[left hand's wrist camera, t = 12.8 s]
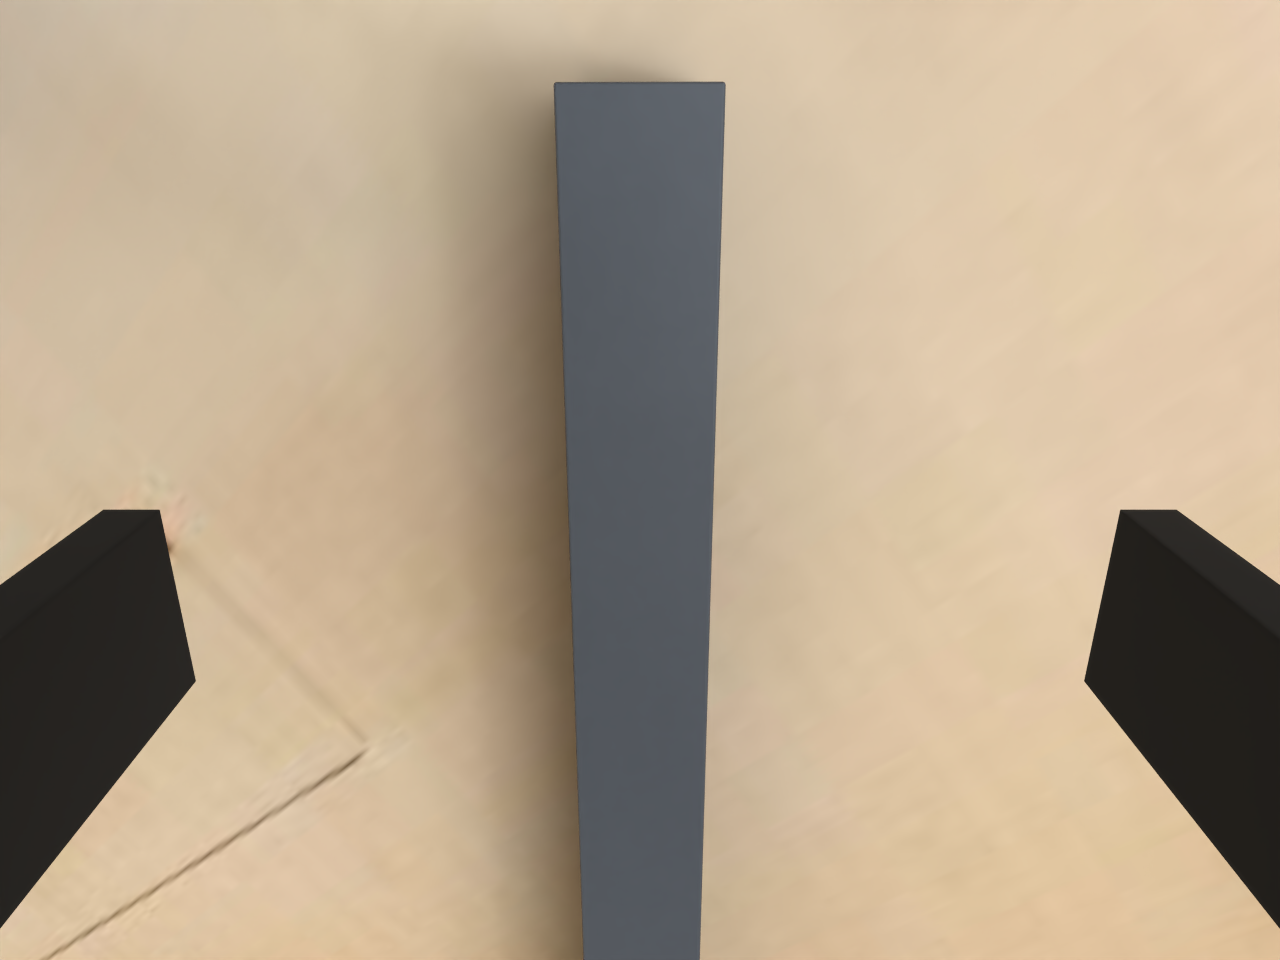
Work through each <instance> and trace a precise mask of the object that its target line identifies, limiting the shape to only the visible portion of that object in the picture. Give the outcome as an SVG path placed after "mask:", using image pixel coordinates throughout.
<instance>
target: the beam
mask: <svg viewBox="0 0 1280 960" xmlns="http://www.w3.org/2000/svg"><path fill="white" fill-rule="evenodd" d="M725 86H726V85H725V83H724V82H556V83H554V106H555V136H556V165H557V194H558V224H559V253H560V282H561V312H562V341H563V371H564V400H565V429H566V459H567V488H568V517H569V547H570V576H571V605H572V635H573V664H574V693H575V723H576V752H577V782H578V811H579V840H580V870H581V899H582V928H583V958H584V960H700V931H701V897H702V863H703V829H704V795H705V762H706V728H707V694H708V660H709V627H710V593H711V559H712V525H713V492H714V458H715V424H716V390H717V356H718V323H719V289H720V255H721V221H722V188H723V154H724V120H725Z"/></svg>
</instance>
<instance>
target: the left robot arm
mask: <svg viewBox="0 0 1280 960" xmlns="http://www.w3.org/2000/svg"><path fill="white" fill-rule="evenodd" d="M195 681H196V680H195V675H194V671H193V666H192V661H191V656H190V652H189V647H188V642H187V637H186V633H185V628H184V623H183V618H182V614H181V609H180V604H179V599H178V595H177V590H176V585H175V581H174V576H173V571H172V566H171V562H170V557H169V552H168V547H167V543H166V538H165V533H164V528H163V524H162V519H161V514H160V510H103V511H101V512H100V513H98V514H97V515H96V516H94V517H93V518H92V519H90V520H89V521H87V522H86V523H85V524H83V525H82V526H81V527H79V528H78V529H76V530H75V531H74V532H72V533H71V534H70V535H68V536H67V537H65V538H64V539H63V540H61V541H60V542H59V543H57V544H56V545H54V546H53V547H52V548H50V549H49V550H48V551H46V552H45V553H43V554H42V555H41V556H39V557H38V558H37V559H35V560H34V561H32V562H31V563H30V564H28V565H27V566H26V567H24V568H23V569H21V570H20V571H19V572H17V573H16V574H15V575H13V576H12V577H11V578H9V579H8V580H6V581H5V582H4V583H2V584H1V585H0V928H1V927H2V926H3V924H4V923H5V922H6V920H7V919H8V918H9V917H10V915H11V914H12V913H13V912H14V910H15V909H16V908H17V907H18V905H19V904H20V903H21V902H22V900H23V899H24V898H25V896H26V895H27V894H28V893H29V891H30V890H31V889H32V888H33V886H34V885H35V884H36V883H37V881H38V880H39V879H40V877H41V876H42V875H43V874H44V872H45V871H46V870H47V869H48V867H49V866H50V865H51V864H52V862H53V861H54V860H55V859H56V857H57V856H58V855H59V853H60V852H61V851H62V850H63V848H64V847H65V846H66V845H67V843H68V842H69V841H70V840H71V838H72V837H73V836H74V834H75V833H76V832H77V831H78V829H79V828H80V827H81V826H82V824H83V823H84V822H85V821H86V819H87V818H88V817H89V815H90V814H91V813H92V812H93V810H94V809H95V808H96V807H97V805H98V804H99V803H100V802H101V800H102V799H103V798H104V797H105V795H106V794H107V793H108V791H109V790H110V789H111V788H112V786H113V785H114V784H115V783H116V781H117V780H118V779H119V778H120V776H121V775H122V774H123V772H124V771H125V770H126V769H127V767H128V766H129V765H130V764H131V762H132V761H133V760H134V759H135V757H136V756H137V755H138V754H139V752H140V751H141V750H142V748H143V747H144V746H145V745H146V743H147V742H148V741H149V740H150V738H151V737H152V736H153V735H154V733H155V732H156V731H157V729H158V728H159V727H160V726H161V724H162V723H163V722H164V721H165V719H166V718H167V717H168V716H169V714H170V713H171V712H172V710H173V709H174V708H175V707H176V705H177V704H178V703H179V702H180V700H181V699H182V698H183V697H184V695H185V694H186V693H187V692H188V690H189V689H190V688H191V686H192V685H193V684H194V683H195ZM1084 681H1085V683H1086V684H1087V685H1088V686H1089V688H1090V689H1091V690H1092V692H1093V693H1094V694H1095V695H1096V697H1097V698H1098V699H1099V700H1100V702H1101V703H1102V704H1103V705H1104V707H1105V708H1106V709H1107V710H1108V712H1109V713H1110V714H1111V716H1112V717H1113V718H1114V719H1115V721H1116V722H1117V723H1118V724H1119V726H1120V727H1121V728H1122V729H1123V731H1124V732H1125V733H1126V735H1127V736H1128V737H1129V738H1130V740H1131V741H1132V742H1133V743H1134V745H1135V746H1136V747H1137V748H1138V750H1139V751H1140V752H1141V754H1142V755H1143V756H1144V757H1145V759H1146V760H1147V761H1148V762H1149V764H1150V765H1151V766H1152V767H1153V769H1154V770H1155V771H1156V772H1157V774H1158V775H1159V776H1160V778H1161V779H1162V780H1163V781H1164V783H1165V784H1166V785H1167V786H1168V788H1169V789H1170V790H1171V791H1172V793H1173V794H1174V795H1175V797H1176V798H1177V799H1178V800H1179V802H1180V803H1181V804H1182V805H1183V807H1184V808H1185V809H1186V810H1187V812H1188V813H1189V814H1190V815H1191V817H1192V818H1193V819H1194V821H1195V822H1196V823H1197V824H1198V826H1199V827H1200V828H1201V829H1202V831H1203V832H1204V833H1205V834H1206V836H1207V837H1208V838H1209V840H1210V841H1211V842H1212V843H1213V845H1214V846H1215V847H1216V848H1217V850H1218V851H1219V852H1220V853H1221V855H1222V856H1223V857H1224V859H1225V860H1226V861H1227V862H1228V864H1229V865H1230V866H1231V867H1232V869H1233V870H1234V871H1235V872H1236V874H1237V875H1238V876H1239V877H1240V879H1241V880H1242V881H1243V883H1244V884H1245V885H1246V886H1247V888H1248V889H1249V890H1250V891H1251V893H1252V894H1253V895H1254V896H1255V898H1256V899H1257V900H1258V902H1259V903H1260V904H1261V905H1262V907H1263V908H1264V909H1265V910H1266V912H1267V913H1268V914H1269V915H1270V917H1271V918H1272V919H1273V920H1274V922H1275V923H1276V924H1277V926H1278V927H1279V928H1280V585H1279V584H1278V583H1276V582H1275V581H1274V580H1272V579H1271V578H1269V577H1268V576H1267V575H1265V574H1264V573H1263V572H1261V571H1260V570H1259V569H1257V568H1256V567H1254V566H1253V565H1252V564H1250V563H1249V562H1248V561H1246V560H1245V559H1243V558H1242V557H1241V556H1239V555H1238V554H1237V553H1235V552H1234V551H1232V550H1231V549H1230V548H1228V547H1227V546H1226V545H1224V544H1223V543H1221V542H1220V541H1219V540H1217V539H1216V538H1215V537H1213V536H1212V535H1210V534H1209V533H1208V532H1206V531H1205V530H1204V529H1202V528H1201V527H1199V526H1198V525H1197V524H1195V523H1194V522H1193V521H1191V520H1190V519H1188V518H1187V517H1186V516H1184V515H1183V514H1182V513H1180V512H1179V511H1177V510H1120V514H1119V519H1118V524H1117V528H1116V533H1115V538H1114V543H1113V547H1112V552H1111V557H1110V562H1109V566H1108V571H1107V576H1106V581H1105V585H1104V590H1103V595H1102V599H1101V604H1100V609H1099V614H1098V618H1097V623H1096V628H1095V633H1094V637H1093V642H1092V647H1091V652H1090V656H1089V661H1088V666H1087V671H1086V675H1085V680H1084Z"/></svg>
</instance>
